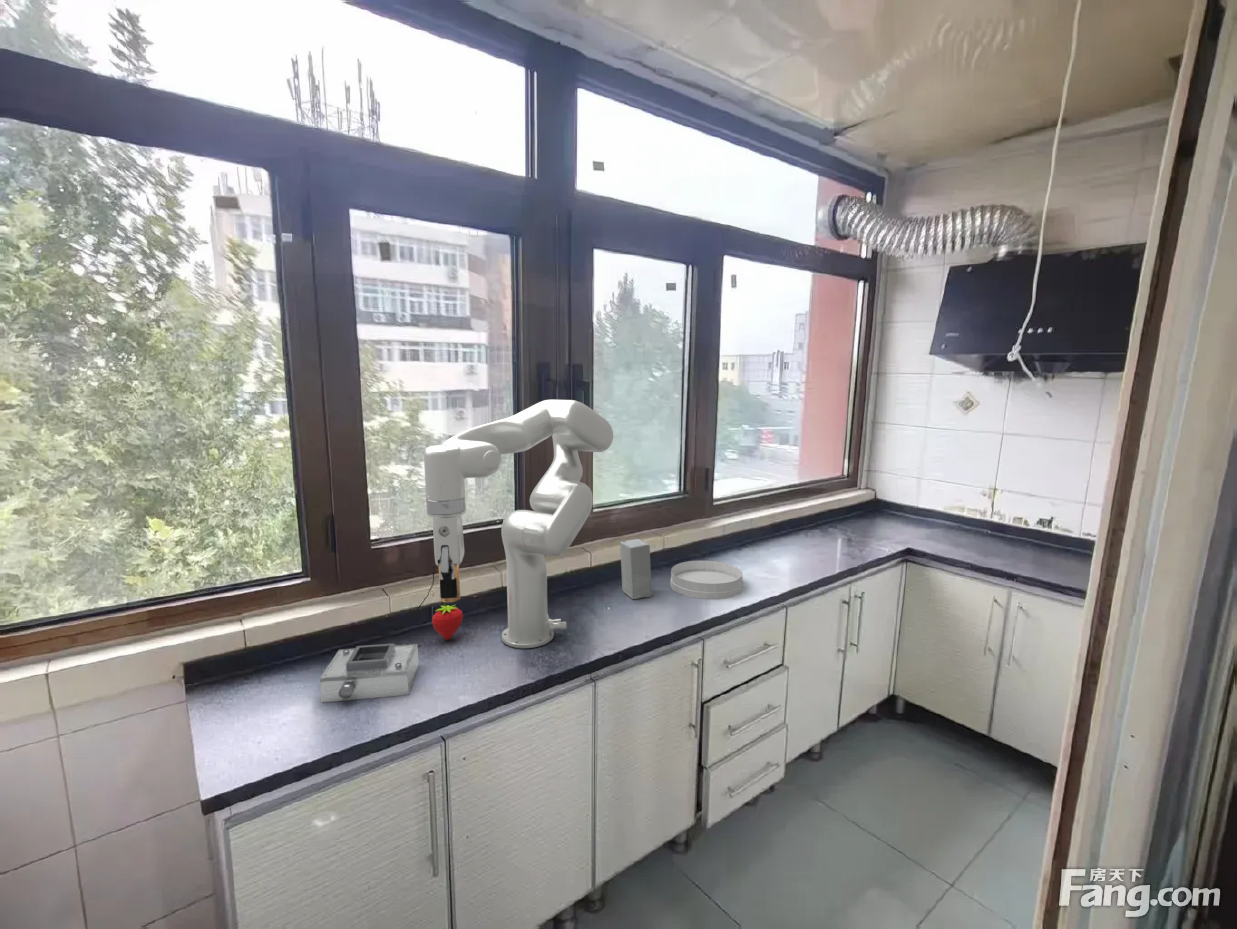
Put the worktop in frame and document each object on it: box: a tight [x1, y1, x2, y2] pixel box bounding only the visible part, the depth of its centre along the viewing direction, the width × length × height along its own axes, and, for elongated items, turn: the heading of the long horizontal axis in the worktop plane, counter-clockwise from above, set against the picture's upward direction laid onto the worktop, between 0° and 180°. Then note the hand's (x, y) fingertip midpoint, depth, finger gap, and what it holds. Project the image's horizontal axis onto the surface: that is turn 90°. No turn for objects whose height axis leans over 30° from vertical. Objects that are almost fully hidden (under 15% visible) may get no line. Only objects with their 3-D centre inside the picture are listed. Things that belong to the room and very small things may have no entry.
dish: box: [669, 560, 744, 600], centre depth 173 cm, size 22×22×5 cm
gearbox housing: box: [319, 643, 420, 703], centre depth 114 cm, size 16×14×6 cm
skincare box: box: [619, 538, 653, 600], centre depth 165 cm, size 8×7×16 cm
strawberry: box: [431, 602, 464, 641], centre depth 135 cm, size 6×8×10 cm
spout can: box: [438, 561, 461, 603], centre depth 115 cm, size 4×4×10 cm
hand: (450, 592), depth 115 cm, fingers closed on spout can, 4 cm apart
